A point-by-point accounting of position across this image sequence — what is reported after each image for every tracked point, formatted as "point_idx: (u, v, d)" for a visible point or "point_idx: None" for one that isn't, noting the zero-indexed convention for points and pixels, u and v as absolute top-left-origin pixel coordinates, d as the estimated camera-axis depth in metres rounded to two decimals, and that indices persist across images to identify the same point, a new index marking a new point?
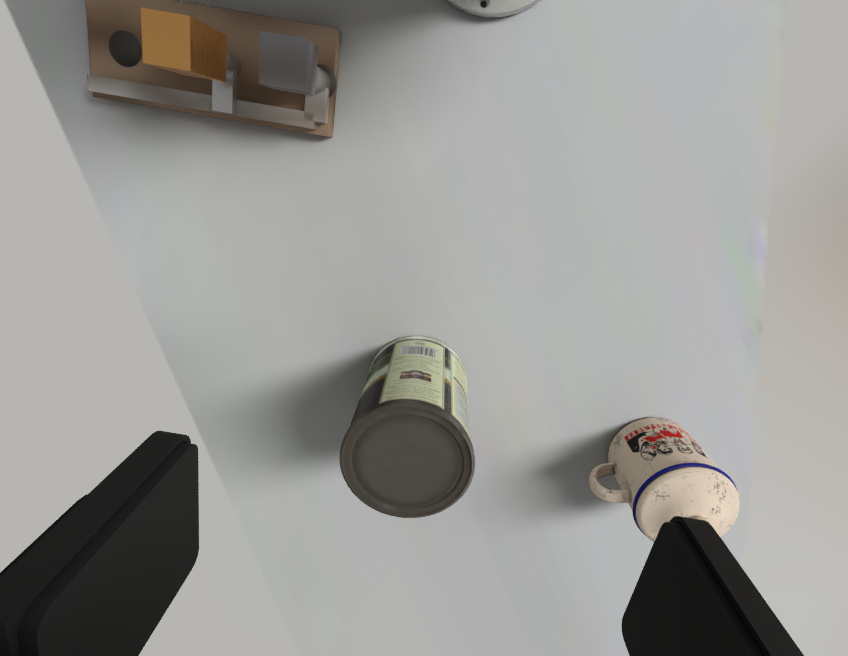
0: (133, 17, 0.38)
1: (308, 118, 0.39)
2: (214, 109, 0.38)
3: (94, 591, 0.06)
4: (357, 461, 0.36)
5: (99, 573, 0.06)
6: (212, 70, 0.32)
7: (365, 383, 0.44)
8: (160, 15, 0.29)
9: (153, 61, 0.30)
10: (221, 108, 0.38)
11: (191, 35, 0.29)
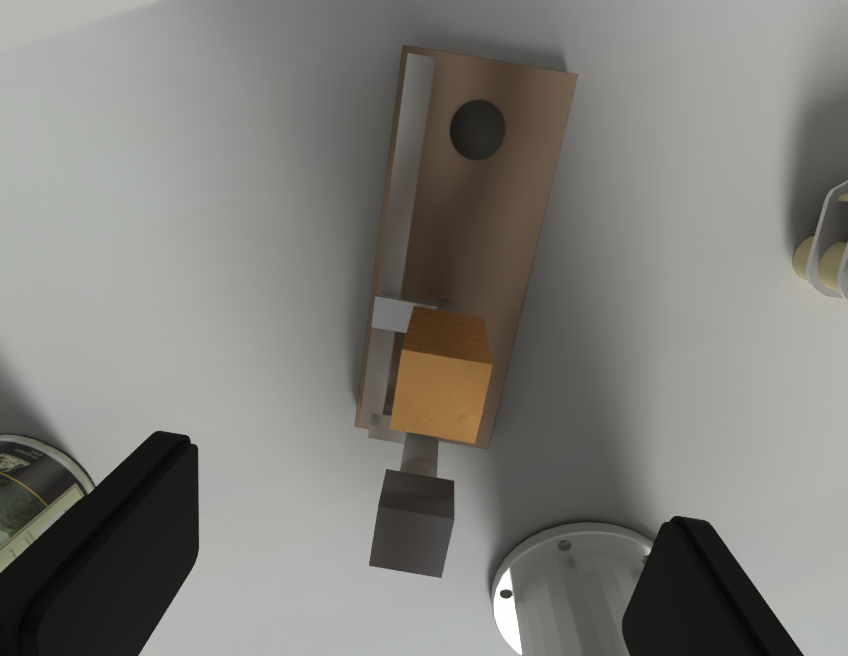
0: (521, 156, 0.23)
1: (373, 419, 0.27)
2: (376, 300, 0.23)
3: (94, 591, 0.06)
4: None
5: (99, 573, 0.06)
6: None
7: None
8: (478, 396, 0.16)
9: (404, 368, 0.16)
10: (378, 311, 0.23)
11: (446, 435, 0.17)
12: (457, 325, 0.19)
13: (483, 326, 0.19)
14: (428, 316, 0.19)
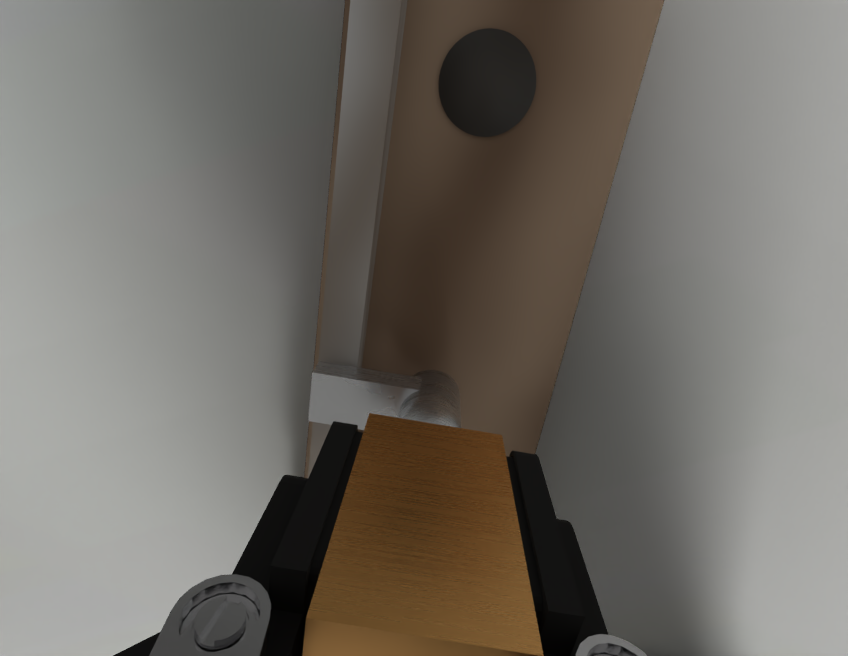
0: (563, 130, 0.13)
1: None
2: (314, 378, 0.14)
3: None
4: None
5: None
6: None
7: None
8: None
9: (316, 655, 0.06)
10: (318, 397, 0.14)
11: None
12: (452, 472, 0.09)
13: (504, 466, 0.10)
14: (394, 446, 0.10)
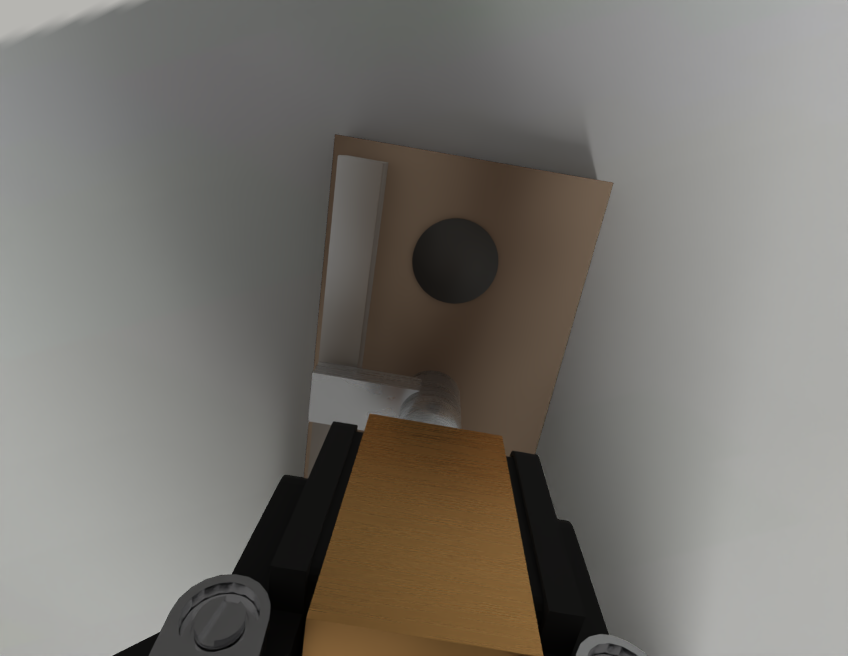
0: (523, 298, 0.15)
1: None
2: (315, 378, 0.14)
3: None
4: None
5: None
6: None
7: None
8: None
9: None
10: (318, 397, 0.14)
11: None
12: (452, 473, 0.09)
13: (504, 467, 0.10)
14: (394, 446, 0.10)
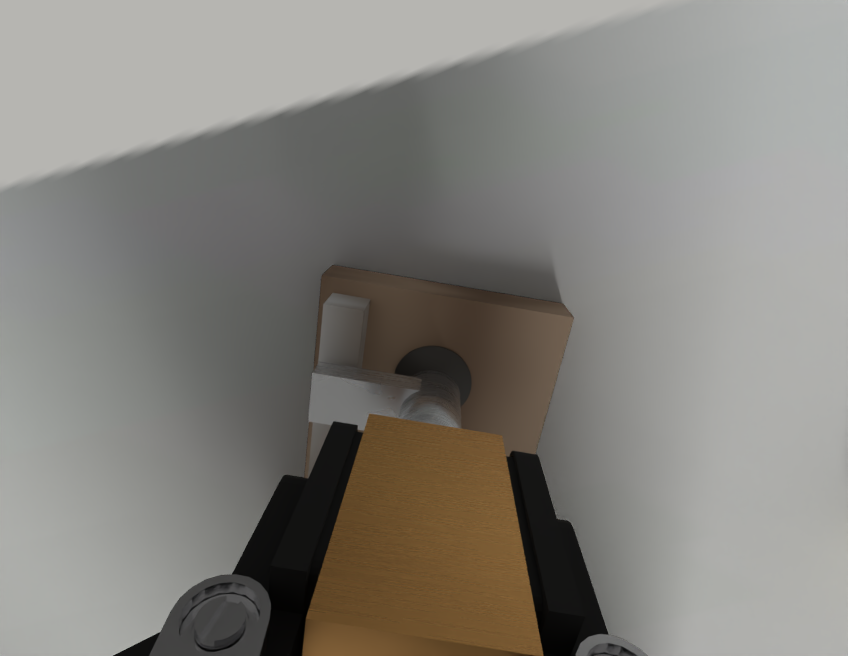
0: (495, 413, 0.16)
1: None
2: (314, 378, 0.14)
3: None
4: None
5: None
6: None
7: None
8: None
9: None
10: (318, 397, 0.14)
11: None
12: (452, 473, 0.09)
13: (504, 467, 0.10)
14: (394, 446, 0.10)
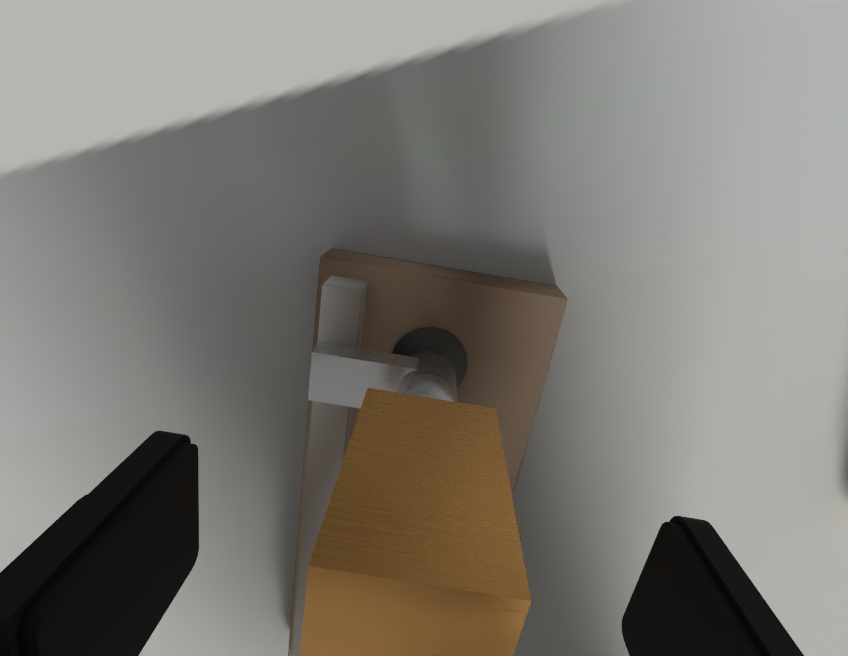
0: (490, 393, 0.17)
1: None
2: (314, 358, 0.14)
3: (94, 592, 0.06)
4: None
5: (99, 574, 0.06)
6: None
7: None
8: None
9: (318, 603, 0.07)
10: (317, 376, 0.14)
11: None
12: (447, 441, 0.09)
13: (497, 436, 0.10)
14: (391, 417, 0.10)
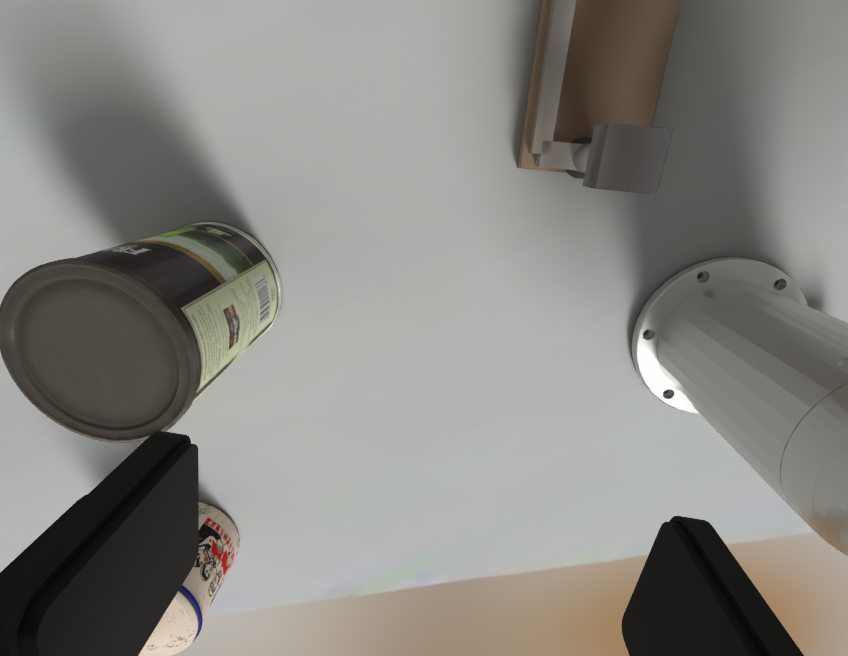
0: None
1: (544, 146, 0.31)
2: None
3: (94, 591, 0.06)
4: (75, 287, 0.23)
5: (99, 573, 0.06)
6: None
7: (201, 237, 0.32)
8: None
9: None
10: None
11: None
12: None
13: None
14: None
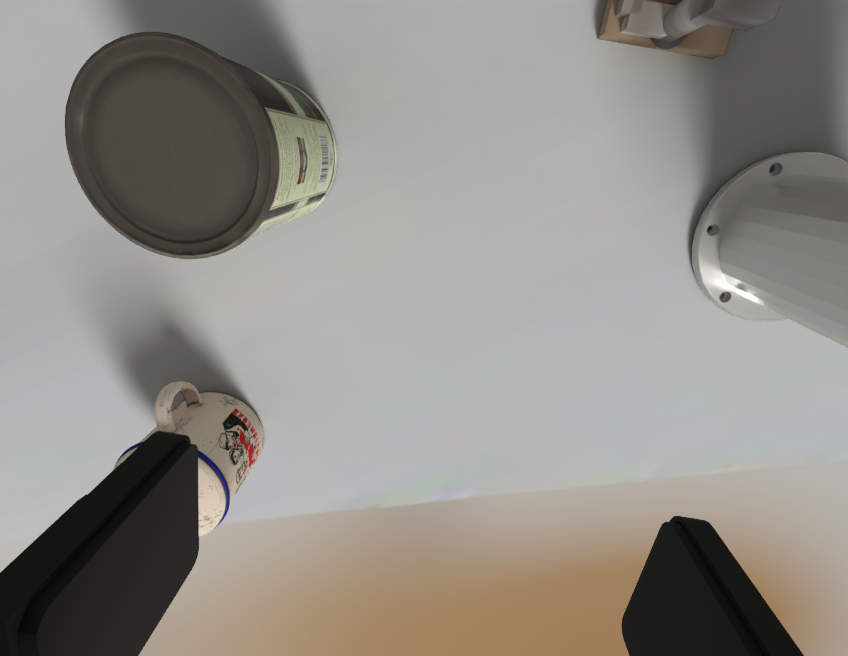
0: None
1: (634, 5, 0.29)
2: None
3: (94, 591, 0.06)
4: (157, 66, 0.22)
5: (99, 573, 0.06)
6: None
7: (268, 76, 0.30)
8: None
9: None
10: None
11: None
12: None
13: None
14: None
